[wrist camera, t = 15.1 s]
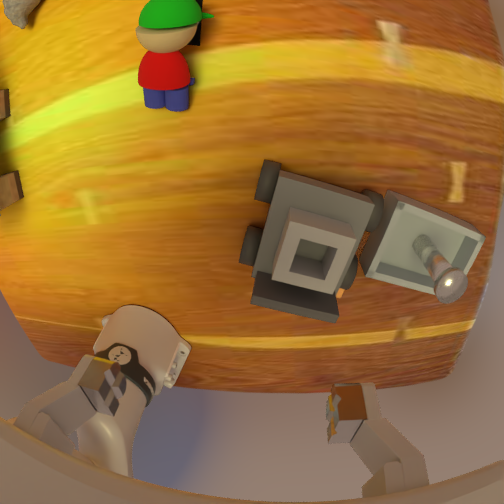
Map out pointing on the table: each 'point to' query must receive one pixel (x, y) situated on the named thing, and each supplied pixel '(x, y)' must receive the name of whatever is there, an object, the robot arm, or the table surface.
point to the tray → (403, 234)
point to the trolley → (306, 242)
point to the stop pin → (440, 270)
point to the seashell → (19, 11)
